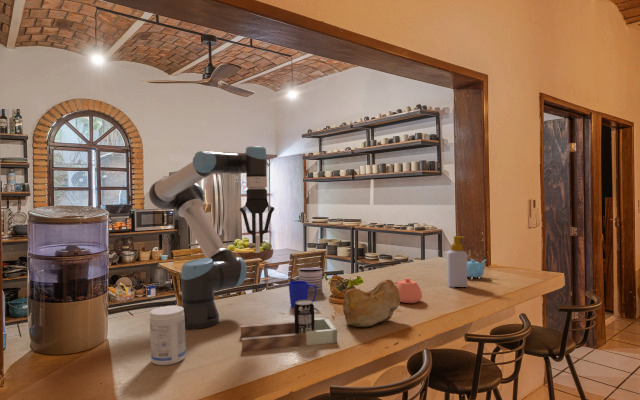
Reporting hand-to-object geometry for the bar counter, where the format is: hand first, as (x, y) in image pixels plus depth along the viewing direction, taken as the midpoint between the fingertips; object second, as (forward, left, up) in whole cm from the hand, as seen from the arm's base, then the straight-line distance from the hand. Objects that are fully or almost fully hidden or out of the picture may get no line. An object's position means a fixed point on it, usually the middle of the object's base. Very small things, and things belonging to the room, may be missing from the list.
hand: (257, 252), depth 157 cm
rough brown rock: (+40, -7, -27) cm, 49 cm away
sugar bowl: (+65, +15, -27) cm, 72 cm away
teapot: (+121, +52, -27) cm, 134 cm away
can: (+28, +43, -27) cm, 58 cm away
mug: (+20, +19, -27) cm, 38 cm away
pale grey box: (+18, -20, -26) cm, 38 cm away
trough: (+3, -20, -26) cm, 33 cm away
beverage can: (+14, -20, -27) cm, 36 cm away
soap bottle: (+102, +36, -27) cm, 111 cm away
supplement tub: (-28, -28, -27) cm, 48 cm away
